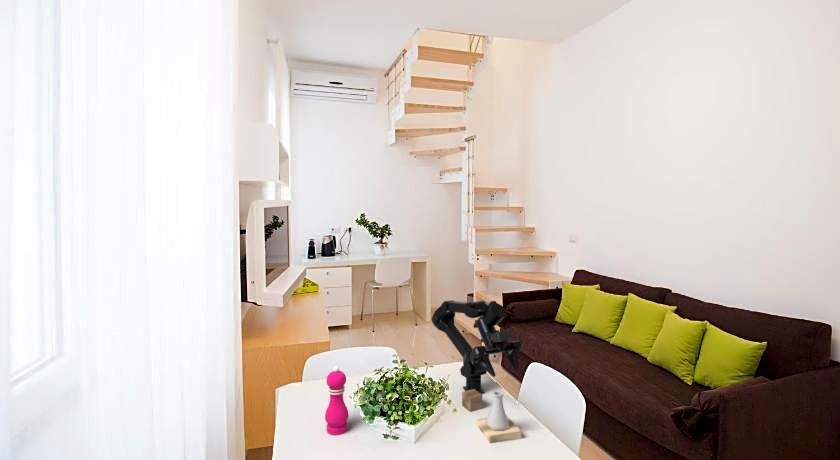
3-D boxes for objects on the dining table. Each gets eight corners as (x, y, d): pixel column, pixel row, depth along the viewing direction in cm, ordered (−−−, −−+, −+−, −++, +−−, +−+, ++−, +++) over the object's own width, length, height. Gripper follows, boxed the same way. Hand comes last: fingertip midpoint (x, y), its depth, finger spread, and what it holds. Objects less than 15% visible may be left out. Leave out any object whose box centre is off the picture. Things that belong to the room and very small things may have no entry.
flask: (513, 429, 123) (514, 397, 122) (491, 432, 121) (492, 399, 120) (502, 417, 130) (503, 386, 129) (481, 420, 128) (482, 389, 127)
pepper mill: (325, 437, 123) (324, 372, 122) (324, 425, 130) (323, 363, 129) (349, 434, 125) (349, 369, 124) (347, 422, 131) (346, 361, 131)
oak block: (477, 428, 129) (477, 419, 129) (506, 424, 132) (506, 415, 131) (490, 445, 119) (490, 435, 119) (521, 441, 122) (521, 431, 122)
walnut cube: (462, 406, 142) (462, 392, 142) (473, 402, 145) (473, 389, 145) (470, 412, 138) (470, 397, 138) (482, 408, 140) (482, 394, 140)
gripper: (473, 323, 136) (492, 367, 126) (519, 317, 143) (540, 359, 134) (462, 340, 144) (478, 383, 134) (506, 333, 151) (525, 373, 141)
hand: (506, 374), depth 136 cm, fingers open, 9 cm apart
